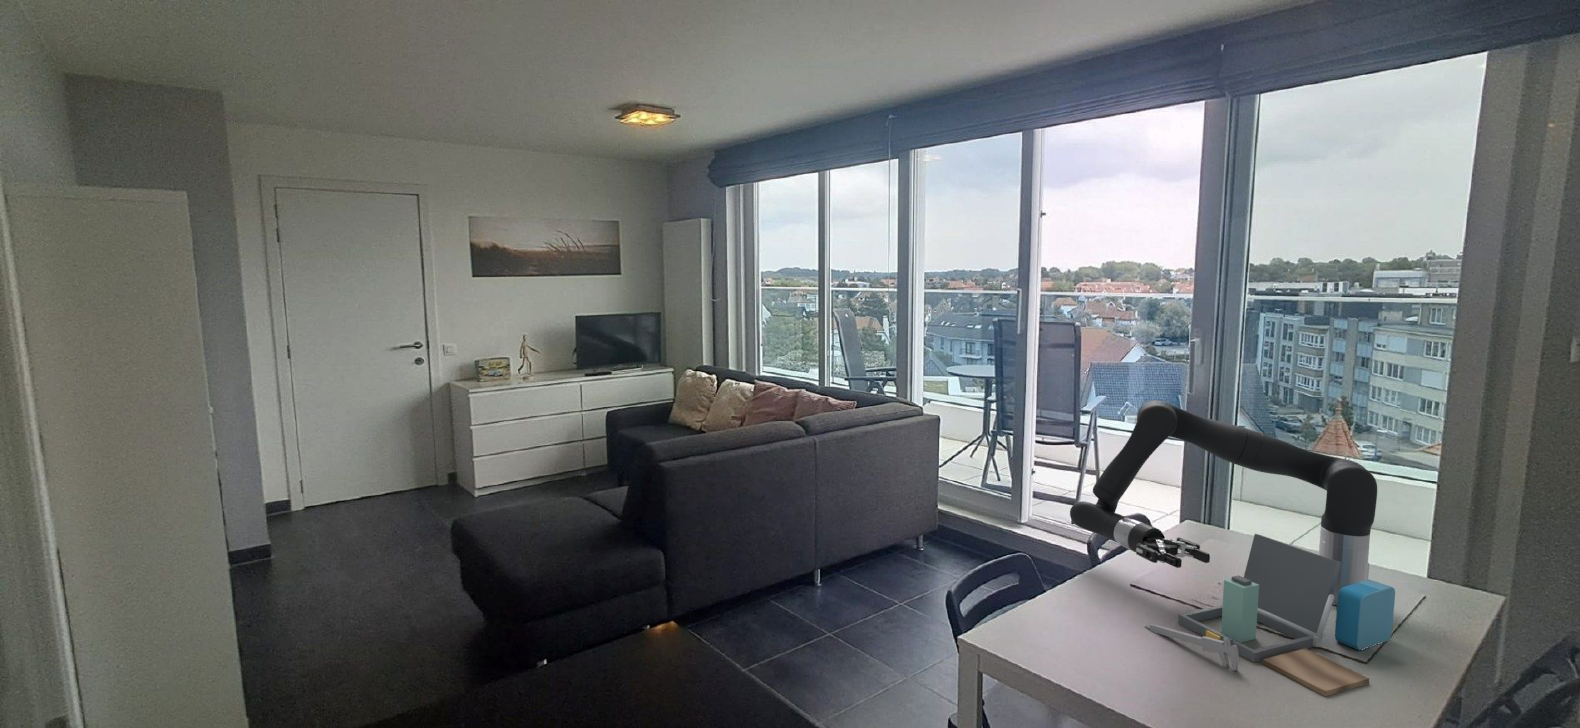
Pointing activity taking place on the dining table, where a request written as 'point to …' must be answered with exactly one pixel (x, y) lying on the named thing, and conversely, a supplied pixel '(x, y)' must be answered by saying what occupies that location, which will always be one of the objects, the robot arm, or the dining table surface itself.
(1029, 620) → the dining table surface
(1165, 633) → the caliper
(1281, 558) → the equipment case
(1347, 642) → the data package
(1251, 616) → the block
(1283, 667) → the walnut board
